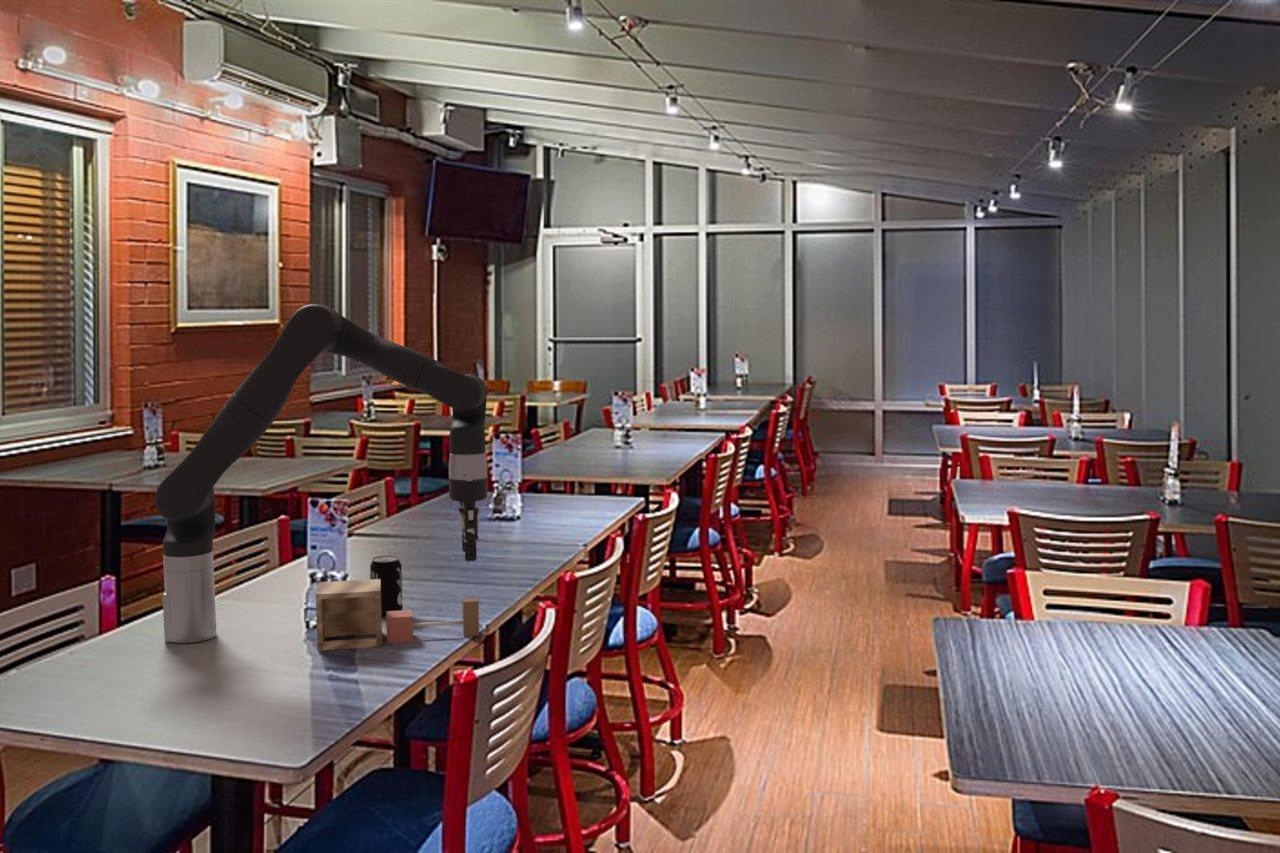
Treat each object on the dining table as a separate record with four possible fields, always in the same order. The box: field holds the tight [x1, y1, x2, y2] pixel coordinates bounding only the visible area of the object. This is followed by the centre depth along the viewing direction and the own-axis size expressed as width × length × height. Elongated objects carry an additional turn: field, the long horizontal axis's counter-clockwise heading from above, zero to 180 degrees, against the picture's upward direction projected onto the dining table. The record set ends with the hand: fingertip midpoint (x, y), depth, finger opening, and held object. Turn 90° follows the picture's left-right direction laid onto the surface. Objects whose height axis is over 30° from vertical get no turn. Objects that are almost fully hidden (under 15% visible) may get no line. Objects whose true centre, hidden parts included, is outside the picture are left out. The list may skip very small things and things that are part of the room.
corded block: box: [385, 597, 480, 644], centre depth 231 cm, size 18×5×7 cm, turn 102°
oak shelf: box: [315, 579, 383, 652], centre depth 228 cm, size 12×10×11 cm
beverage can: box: [369, 554, 404, 617], centre depth 249 cm, size 7×7×12 cm
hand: (469, 556), depth 232 cm, fingers open, 8 cm apart
